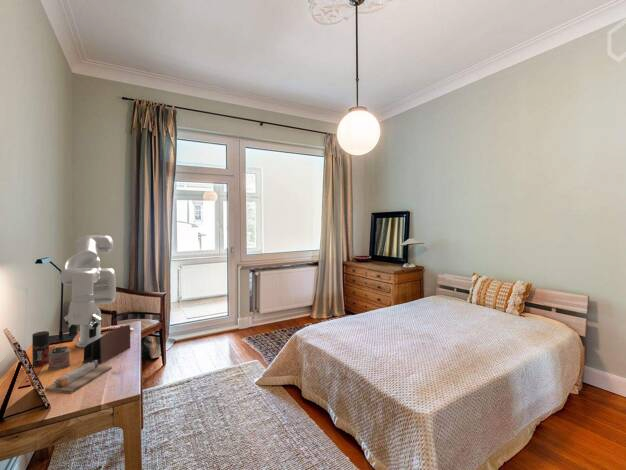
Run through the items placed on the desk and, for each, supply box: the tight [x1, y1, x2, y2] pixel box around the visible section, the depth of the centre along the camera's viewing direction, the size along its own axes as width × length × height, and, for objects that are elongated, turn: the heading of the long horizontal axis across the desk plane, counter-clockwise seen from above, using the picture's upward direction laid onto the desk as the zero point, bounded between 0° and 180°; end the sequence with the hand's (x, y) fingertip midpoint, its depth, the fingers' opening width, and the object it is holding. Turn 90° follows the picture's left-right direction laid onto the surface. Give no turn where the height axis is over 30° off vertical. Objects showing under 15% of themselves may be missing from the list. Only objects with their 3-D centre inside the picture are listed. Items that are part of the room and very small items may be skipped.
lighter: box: [47, 345, 71, 371], centre depth 142 cm, size 8×3×10 cm, turn 114°
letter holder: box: [83, 324, 131, 365], centre depth 157 cm, size 10×20×14 cm, turn 173°
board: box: [44, 364, 113, 394], centre depth 133 cm, size 21×12×1 cm, turn 174°
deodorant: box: [31, 330, 50, 368], centre depth 145 cm, size 6×6×15 cm
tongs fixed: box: [55, 360, 98, 387], centre depth 133 cm, size 18×2×3 cm, turn 174°
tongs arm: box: [60, 362, 95, 387], centre depth 132 cm, size 16×1×3 cm, turn 173°
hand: (82, 336), depth 134 cm, fingers open, 9 cm apart
